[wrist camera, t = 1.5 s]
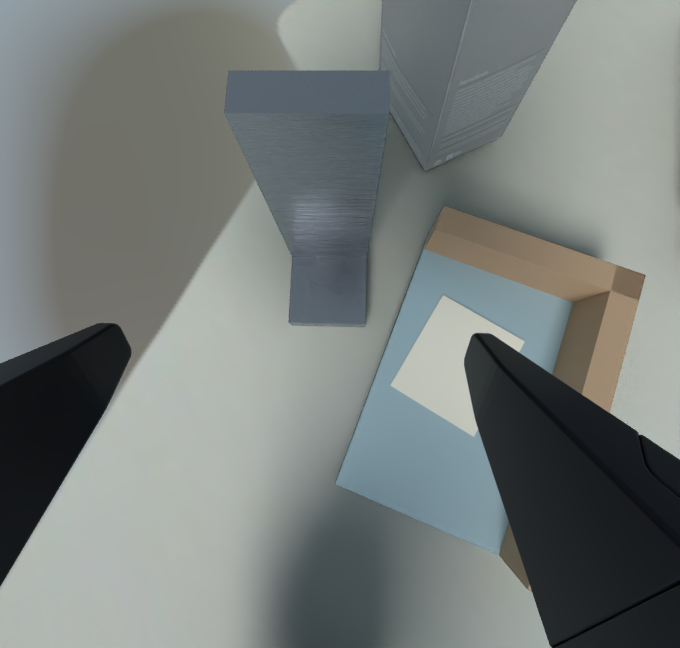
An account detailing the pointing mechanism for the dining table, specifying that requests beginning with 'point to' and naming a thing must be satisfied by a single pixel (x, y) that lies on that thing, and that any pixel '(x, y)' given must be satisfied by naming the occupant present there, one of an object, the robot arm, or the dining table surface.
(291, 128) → the grey tall post
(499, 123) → the skincare box
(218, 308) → the dining table surface
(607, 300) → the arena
